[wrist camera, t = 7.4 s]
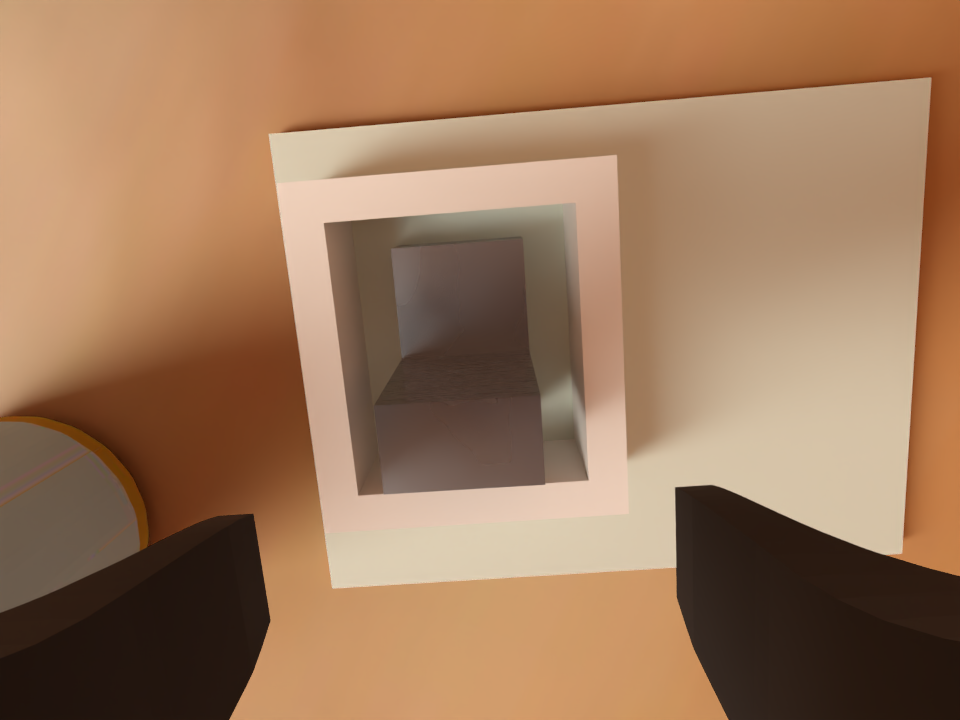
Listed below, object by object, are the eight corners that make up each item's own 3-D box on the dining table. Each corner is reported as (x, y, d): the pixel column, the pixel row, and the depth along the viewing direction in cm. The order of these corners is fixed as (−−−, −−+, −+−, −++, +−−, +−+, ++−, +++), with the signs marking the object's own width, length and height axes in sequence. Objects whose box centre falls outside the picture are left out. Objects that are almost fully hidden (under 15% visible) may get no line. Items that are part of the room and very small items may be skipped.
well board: (891, 544, 22) (972, 613, 18) (336, 578, 23) (305, 652, 19) (918, 81, 19) (1021, 51, 15) (275, 136, 20) (224, 120, 16)
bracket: (530, 404, 21) (545, 484, 15) (414, 412, 21) (383, 494, 15) (520, 236, 19) (532, 249, 14) (398, 245, 20) (357, 262, 14)
